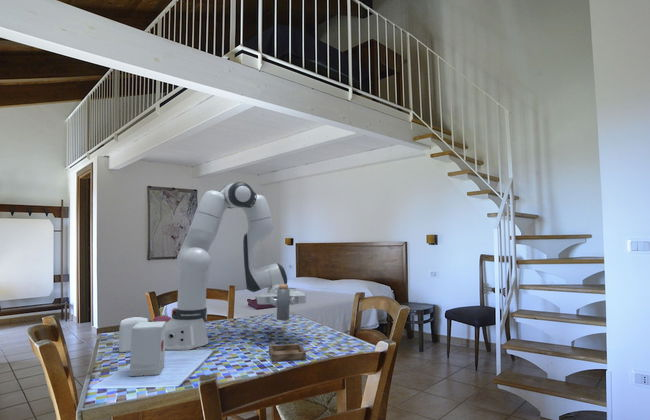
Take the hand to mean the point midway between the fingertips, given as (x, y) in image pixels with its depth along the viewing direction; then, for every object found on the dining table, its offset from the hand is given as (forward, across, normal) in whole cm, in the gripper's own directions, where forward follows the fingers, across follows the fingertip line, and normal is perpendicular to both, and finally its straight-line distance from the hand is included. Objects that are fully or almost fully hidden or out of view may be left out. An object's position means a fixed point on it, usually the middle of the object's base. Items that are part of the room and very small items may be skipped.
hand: (283, 301), depth 160 cm
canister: (-1, 0, +7) cm, 7 cm away
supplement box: (+20, -46, +18) cm, 53 cm away
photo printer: (-6, -56, +18) cm, 59 cm away
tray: (+12, 0, +18) cm, 22 cm away
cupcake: (-37, -51, +18) cm, 65 cm away
